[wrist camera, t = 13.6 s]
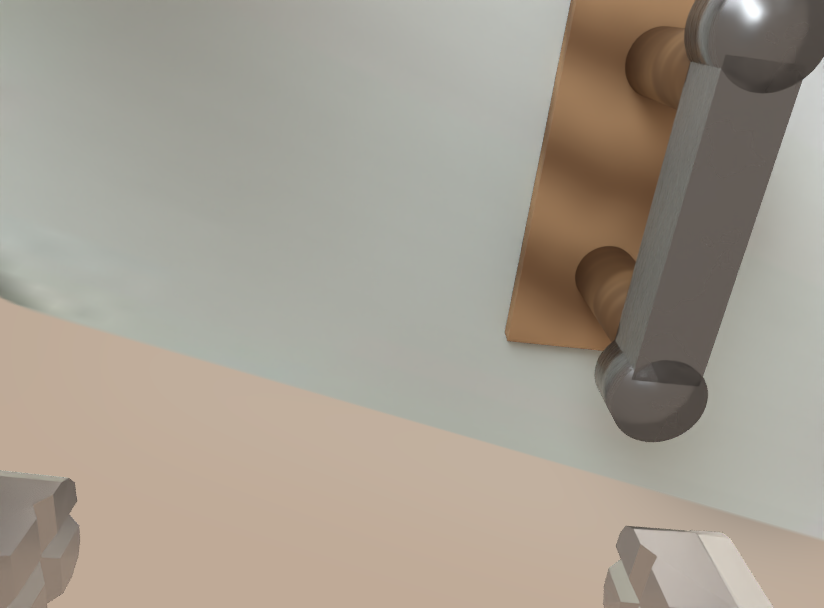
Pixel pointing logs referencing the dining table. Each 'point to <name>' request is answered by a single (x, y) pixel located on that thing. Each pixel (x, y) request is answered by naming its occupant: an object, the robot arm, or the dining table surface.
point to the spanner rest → (598, 169)
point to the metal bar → (705, 205)
